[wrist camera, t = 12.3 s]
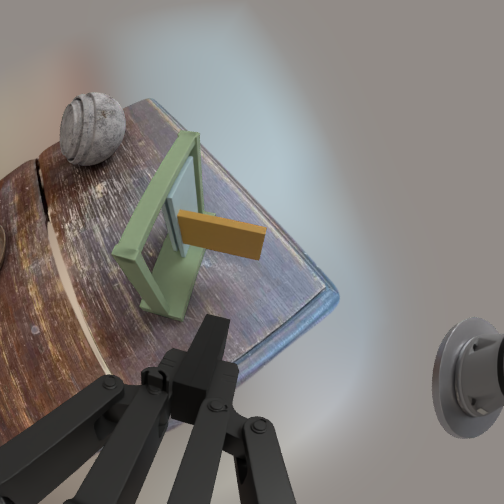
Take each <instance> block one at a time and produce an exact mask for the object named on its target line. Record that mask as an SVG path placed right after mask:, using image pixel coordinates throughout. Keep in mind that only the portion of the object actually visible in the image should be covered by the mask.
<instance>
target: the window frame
mask: <svg viewBox="0 0 504 504" xmlns="http://www.w3.org/2000/svg"><path fill="white" fill-rule="evenodd" d="M188 156H192V157H193V165H194V176H195V186H196V196H197V206H198V213H201V214H206V215H211V216H216V214H215V213H210V212H205V211H204V199H203V185H202V170H201V153H200V133H198V132H190V131H182V130H181V131H180V132H179V134H178V138H177V139H176V141H175V142H174V144H173V146H172V147H171V149H170V150H169V152H168V153H167V155H166V157H165V158H164V160H163V162H162V163H161V165H160V167H159V168H158V170H157V172H156V173H155V175H154V177H153V178H152V180H151V182H150V184H149V185H148V187H147V189H146V191H145V193H144V194H143V196H142V198H141V200H140V202H139V204H138V205H137V207H136V209H135V211H134V213H133V215H132V217H131V219H130V221H129V223H128V225H127V227H126V229H125V231H124V233H123V235H122V237H121V239H120V241H119V243H118V245H115V247H114V249H113V251H112V253H111V254H112V256H113V257H114V259H115V260H116V262H117V263H118V265H119V266H120V268H121V269H122V271H123V272H124V273H125V275H126V276H127V278H128V279H129V281H130V282H131V283H132V285H133V286H134V287H135V289H136V290H137V292H138V293H139V294H140V296H141V297H142V301H141V303H140V308H141V309H142V310H144V311H147V312H151V313H154V314H157V315H161V316H164V317H167V318H171V319H175V320H178V321H182V322H183V320H184V317H185V313H186V310H187V307H188V303H189V300H190V297H191V294H192V290H193V287H194V284H195V281H196V278H197V274H198V271H199V268H200V265H201V262H202V259H203V256H204V253H205V250H206V249H205V248H201V247H196V246H192V245H190V246H189V249H188V251H187V254H186V257H185V258H184V257H181V253H180V250H179V246H178V242H177V238H176V234H175V230H174V226H173V222H172V218H171V214H170V210H169V206H168V201H167V196H168V194H169V192H170V190H171V188H172V186H173V184H174V182H175V180H176V178H177V176H178V174H179V172H180V171H181V169H182V167H183V165H184V163H185V161H186V159H187V158H188ZM161 208H162V212H163V215H164V219H165V222H166V226H167V229H168V234H167V236H166V238H165V241H164V243H163V246H162V248H161V251H160V253H159V256H158V258H157V261H156V263H155V266H154V268H153V271H152V274H151V272H150V270H149V268H148V267H147V265H146V263H145V261H144V259H143V257H142V255H141V252H142V249H143V247H144V245H145V243H146V240H147V238H148V236H149V234H150V231H151V229H152V227H153V225H154V223H155V221H156V218H157V216H158V214H159V212H160V210H161Z"/></svg>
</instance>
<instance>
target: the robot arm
mask: <svg viewBox="0 0 504 504" xmlns="http://www.w3.org/2000/svg"><path fill="white" fill-rule="evenodd" d="M229 324H230V319H226V318H222V317H218V316H214V315H210V314H206V316H205V318H204V320H203V322H202V324H201V326H200V328H199V330H198V332H197V334H196V336H195V338H194V340H193V342H192V344H191V346H190V348H189V349H188V351H187V352H185V351H182V350H179V349H175V348H173V349H171V350H169V351H168V352H166V354H165V356H164V357H163V359H162V361H161V362H160V364H159V365H158V367H148V368H146V369H144V370H143V371H141V383H142V385H126V384H124V383H123V381H122V380H121V379H120V378H119V377H117V376H115V375H104V376H101V377H100V378H98V379H97V380H95V381H94V382H93V383H91V384H90V385H88V386H87V387H86V388H84V389H83V390H81V391H80V392H79V393H77V394H76V395H74V396H73V397H71V398H70V399H69V400H67V401H66V402H64V403H63V404H62V405H60V406H59V407H57V408H56V409H54V410H53V411H52V412H50V413H49V414H47V415H46V416H45V417H43V418H42V419H40V420H39V421H37V422H36V423H34V424H33V425H32V426H30V427H29V428H27V429H26V430H24V431H23V432H21V433H20V434H19V435H17V436H16V437H14V438H13V439H11V440H10V441H8V442H7V443H5V444H4V445H3V446H1V447H0V504H38V503H39V502H40V501H41V500H42V499H44V498H45V497H46V496H47V495H48V494H50V493H51V492H52V491H53V490H54V489H55V488H57V487H58V486H59V485H60V484H61V483H62V482H63V481H65V480H66V479H67V478H68V477H69V476H70V475H71V474H73V473H74V472H75V471H76V470H77V469H78V468H79V467H81V466H82V465H83V464H84V463H85V462H86V461H87V460H88V459H89V458H91V457H92V456H93V455H94V454H95V453H96V452H97V451H98V450H99V449H100V448H102V447H103V446H104V447H103V449H102V450H101V452H100V454H99V455H98V457H97V459H96V460H95V462H94V464H93V466H92V467H91V469H90V471H89V473H88V474H87V476H86V478H85V479H84V481H83V483H82V485H81V486H80V488H79V490H78V491H77V493H76V495H75V496H74V498H72V499H68V500H66V501H65V502H64V503H63V504H135V502H136V500H137V498H138V495H139V493H140V491H141V488H142V486H143V483H144V481H145V479H146V476H147V474H148V471H149V469H150V467H151V464H152V462H153V460H154V457H155V455H156V453H157V450H158V448H159V445H160V443H161V441H162V439H163V436H164V434H165V432H166V429H167V427H168V419H169V417H170V414H171V418H172V419H175V420H178V421H181V422H185V423H188V424H192V425H194V427H193V429H192V432H191V435H190V438H189V441H188V444H187V447H186V450H185V453H184V456H183V459H182V461H181V465H180V467H179V470H178V473H177V476H176V479H175V482H174V485H173V488H172V490H171V493H170V496H169V499H168V502H167V504H210V501H211V497H212V493H213V488H214V484H215V480H216V475H217V471H218V466H219V462H220V458H221V453H222V450H223V451H225V452H227V453H229V454H231V455H233V456H234V463H235V469H236V476H237V483H238V489H239V495H240V501H241V504H296V501H295V498H294V494H293V491H292V488H291V484H290V481H289V478H288V474H287V471H286V467H285V464H284V461H283V457H282V453H281V450H280V446H279V443H278V439H277V436H276V432H275V429H274V426H273V424H272V423H271V422H270V421H269V420H268V419H265V418H263V417H258V416H257V417H251V418H249V419H247V418H245V417H243V416H241V415H239V414H238V413H237V412H236V411H235V410H234V408H233V405H232V401H233V396H234V392H235V387H236V383H237V378H238V373H239V369H238V367H237V364H235V363H230V362H226V361H222V357H223V354H224V349H225V344H226V339H227V334H228V329H229ZM455 392H456V397H457V400H458V403H459V406H460V407H461V409H462V411H463V412H464V413H465V414H466V415H468V416H470V417H483V416H486V415H488V414H490V413H492V412H494V411H496V410H497V409H499V408H501V407H502V406H504V334H482V335H479V336H476V337H474V338H472V339H470V340H469V341H468V342H467V343H466V344H465V345H464V347H463V348H462V350H461V352H460V355H459V357H458V360H457V364H456V370H455Z"/></svg>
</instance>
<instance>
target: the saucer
mask: <svg viewBox="0 0 504 504" xmlns="http://www.w3.org/2000/svg"><path fill="white" fill-rule="evenodd" d="M5 249H6V239H5V232H4V230H3V228H2V226H1V225H0V269H1V266H2V263H3V260H4V256H5Z"/></svg>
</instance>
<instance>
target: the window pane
mask: <svg viewBox="0 0 504 504" xmlns="http://www.w3.org/2000/svg"><path fill="white" fill-rule="evenodd" d="M167 201H168V206H169V210H170V214H171V218H172V222H173V226H174V230H175V234H176V238H177V242H178V246H179V250H180V253H181V257H184V258H185V257H186V254H187V251H188V249H189V246H190V245H192V246H196V247H201V248H205V249H210V250H214V251H219V252H223V253H227V254H232V255H236V256H241V257H245V258H250V259H254V260H259V259H260V255H261V250H262V246H263V242H264V238H265V233H266V229H267V228H266V227H262V226H258V225H253V224H249V223H244V222H239V221H235V220H230V219H225V218H221V217H216V216H211V215H206V214H201V213H198V206H197V196H196V186H195V176H194V165H193V157H192V156H188V158H187V159H186V161H185V163H184V165H183V167H182V169H181V171H180V172H179V174H178V176H177V178H176V180H175V182H174V184H173V186H172V188H171V190H170V192H169V194H168V196H167Z"/></svg>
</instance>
